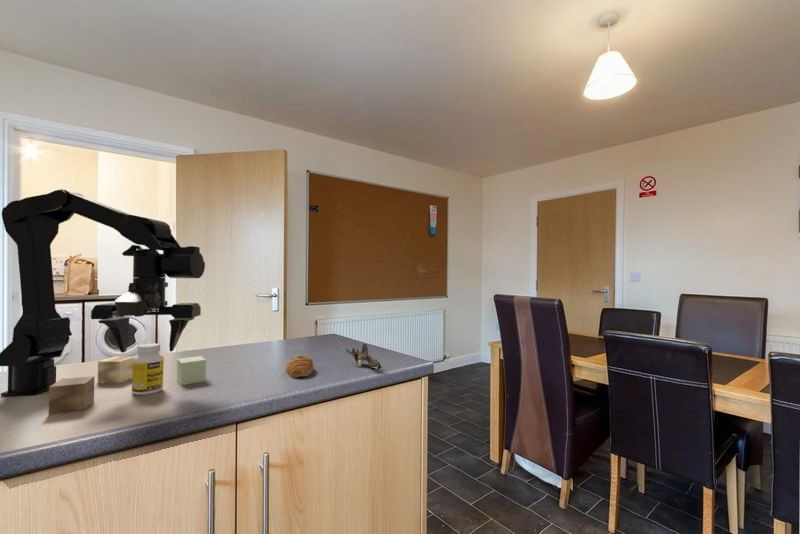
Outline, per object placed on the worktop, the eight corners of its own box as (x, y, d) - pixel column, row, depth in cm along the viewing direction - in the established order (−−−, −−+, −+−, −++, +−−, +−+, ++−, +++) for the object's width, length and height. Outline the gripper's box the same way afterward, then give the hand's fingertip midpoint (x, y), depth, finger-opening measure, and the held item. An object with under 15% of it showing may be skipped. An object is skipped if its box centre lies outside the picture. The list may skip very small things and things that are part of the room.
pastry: (315, 378, 88) (315, 362, 89) (286, 380, 86) (286, 364, 86) (311, 368, 97) (312, 354, 97) (285, 370, 95) (285, 356, 95)
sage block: (181, 385, 82) (181, 363, 82) (177, 380, 85) (177, 358, 85) (205, 381, 85) (206, 359, 85) (200, 376, 89) (201, 355, 89)
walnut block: (48, 415, 64) (49, 386, 64) (60, 405, 69) (61, 379, 69) (84, 410, 66) (85, 383, 66) (93, 401, 71) (94, 376, 71)
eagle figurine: (340, 362, 98) (363, 361, 93) (348, 338, 102) (371, 336, 97) (359, 373, 103) (382, 373, 97) (367, 349, 107) (389, 348, 101)
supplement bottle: (147, 396, 74) (148, 348, 74) (125, 394, 75) (126, 346, 75) (169, 388, 79) (170, 343, 79) (148, 386, 80) (149, 342, 80)
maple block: (97, 383, 82) (97, 361, 83) (114, 377, 87) (115, 356, 88) (119, 383, 82) (120, 361, 83) (135, 377, 87) (136, 356, 88)
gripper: (72, 278, 68) (70, 362, 68) (181, 279, 71) (180, 359, 71) (108, 277, 79) (107, 349, 79) (202, 278, 82) (200, 347, 82)
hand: (147, 351), depth 77 cm, fingers open, 9 cm apart
